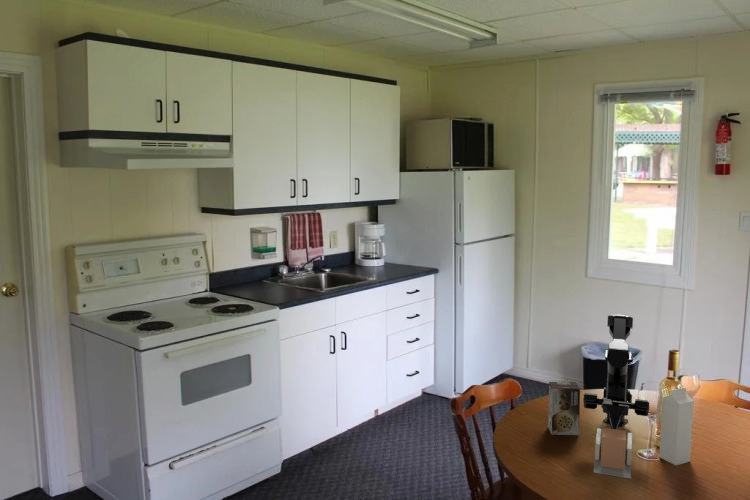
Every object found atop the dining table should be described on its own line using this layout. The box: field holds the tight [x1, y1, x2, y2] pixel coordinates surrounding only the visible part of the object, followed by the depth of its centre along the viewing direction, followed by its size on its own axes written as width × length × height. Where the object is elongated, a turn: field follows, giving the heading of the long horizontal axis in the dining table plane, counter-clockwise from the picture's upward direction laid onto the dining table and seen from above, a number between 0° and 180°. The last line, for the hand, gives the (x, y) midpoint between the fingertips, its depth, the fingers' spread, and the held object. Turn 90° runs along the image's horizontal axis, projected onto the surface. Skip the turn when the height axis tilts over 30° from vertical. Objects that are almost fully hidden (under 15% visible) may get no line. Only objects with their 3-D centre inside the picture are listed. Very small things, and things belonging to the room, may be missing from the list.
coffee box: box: [547, 381, 581, 436], centre depth 207 cm, size 9×6×16 cm
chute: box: [593, 427, 633, 480], centre depth 187 cm, size 20×10×5 cm, turn 158°
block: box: [600, 427, 627, 470], centre depth 185 cm, size 7×6×9 cm
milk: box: [658, 387, 695, 466], centre depth 186 cm, size 6×6×22 cm
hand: (614, 430), depth 188 cm, fingers closed, pressing on block
